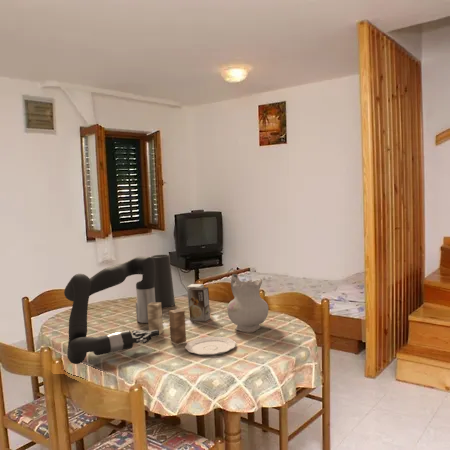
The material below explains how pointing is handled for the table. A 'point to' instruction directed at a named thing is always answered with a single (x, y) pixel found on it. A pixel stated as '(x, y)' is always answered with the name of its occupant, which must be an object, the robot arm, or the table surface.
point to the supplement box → (193, 286)
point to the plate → (210, 345)
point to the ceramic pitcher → (247, 305)
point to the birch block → (155, 316)
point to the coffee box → (199, 303)
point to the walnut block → (177, 326)
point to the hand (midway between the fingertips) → (158, 332)
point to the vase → (163, 281)
